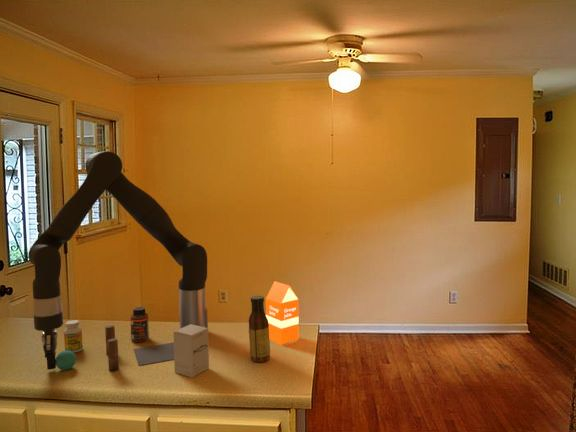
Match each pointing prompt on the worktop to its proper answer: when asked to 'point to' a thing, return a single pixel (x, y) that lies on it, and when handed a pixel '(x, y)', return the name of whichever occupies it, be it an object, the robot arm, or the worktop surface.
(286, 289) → the orange juice
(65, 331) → the supplement bottle
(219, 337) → the worktop surface
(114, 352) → the post near
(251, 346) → the sauce bottle
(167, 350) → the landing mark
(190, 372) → the supplement box
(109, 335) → the post far
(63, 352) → the ball
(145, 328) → the supplement bottle
